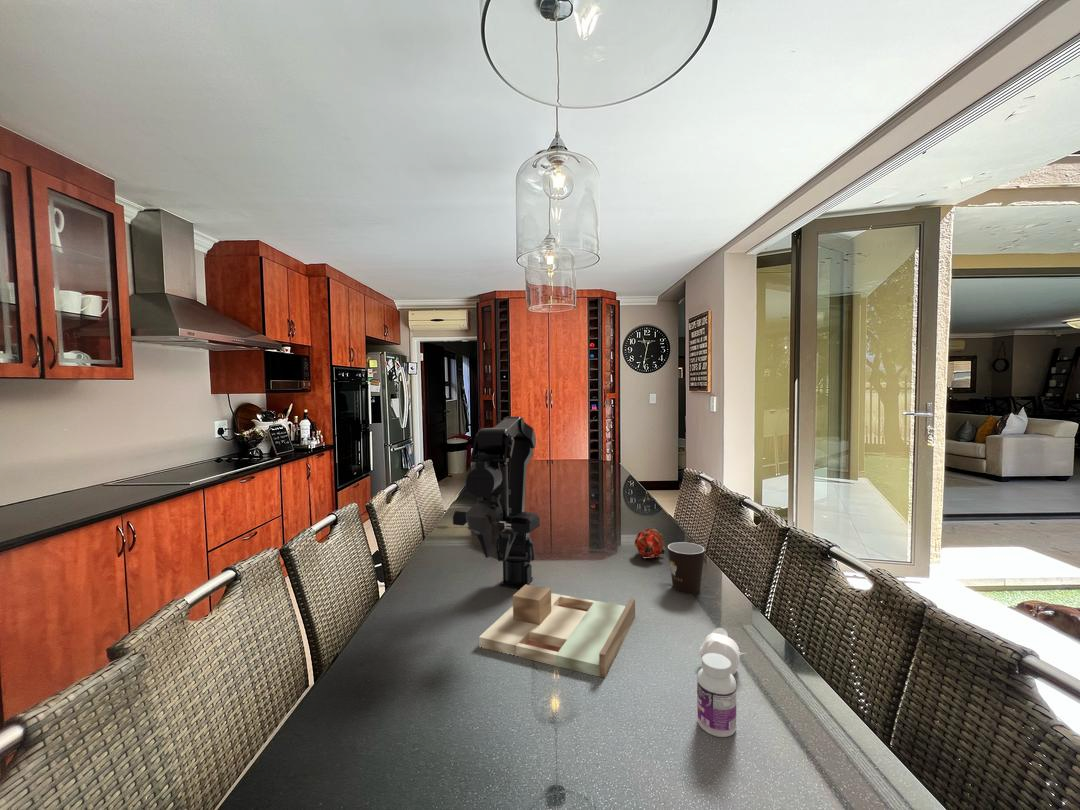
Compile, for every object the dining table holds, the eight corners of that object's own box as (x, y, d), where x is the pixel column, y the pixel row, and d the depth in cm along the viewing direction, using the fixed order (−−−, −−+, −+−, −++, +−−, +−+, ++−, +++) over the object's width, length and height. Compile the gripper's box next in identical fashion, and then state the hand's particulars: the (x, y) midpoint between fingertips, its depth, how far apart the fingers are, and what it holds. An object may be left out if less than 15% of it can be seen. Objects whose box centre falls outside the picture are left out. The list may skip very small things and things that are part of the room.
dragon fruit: (654, 554, 142) (651, 574, 131) (630, 537, 143) (626, 556, 132) (670, 534, 139) (669, 553, 128) (647, 517, 141) (643, 534, 129)
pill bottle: (691, 713, 70) (690, 651, 70) (725, 711, 70) (724, 648, 70) (707, 740, 64) (706, 672, 64) (743, 737, 65) (743, 670, 65)
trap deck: (479, 647, 89) (478, 626, 89) (530, 597, 110) (530, 580, 110) (605, 678, 79) (604, 654, 79) (635, 616, 100) (635, 598, 100)
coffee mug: (707, 597, 109) (707, 555, 108) (669, 594, 110) (669, 553, 110) (700, 577, 120) (700, 539, 120) (666, 575, 122) (665, 537, 122)
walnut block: (513, 619, 96) (512, 595, 95) (526, 607, 101) (525, 584, 101) (539, 625, 93) (539, 600, 93) (551, 611, 99) (551, 588, 98)
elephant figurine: (700, 653, 86) (699, 621, 86) (747, 663, 82) (747, 630, 82) (695, 673, 80) (695, 639, 80) (746, 685, 76) (746, 649, 76)
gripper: (436, 491, 96) (438, 565, 97) (516, 498, 89) (517, 578, 89) (465, 481, 106) (467, 548, 107) (540, 486, 99) (541, 559, 99)
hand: (496, 558), depth 100 cm, fingers open, 4 cm apart
